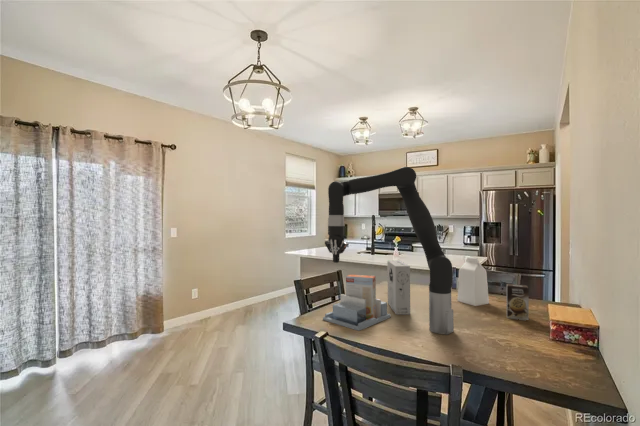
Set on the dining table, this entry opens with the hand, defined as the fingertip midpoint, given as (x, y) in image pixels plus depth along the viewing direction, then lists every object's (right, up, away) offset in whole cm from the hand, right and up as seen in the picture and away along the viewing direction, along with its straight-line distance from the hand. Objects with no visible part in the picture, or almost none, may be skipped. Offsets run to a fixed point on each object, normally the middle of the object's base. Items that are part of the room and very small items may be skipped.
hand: (336, 262), depth 147 cm
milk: (+82, -30, +39) cm, 96 cm away
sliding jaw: (+7, -30, +6) cm, 31 cm away
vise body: (+11, -30, +11) cm, 33 cm away
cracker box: (+13, -30, +12) cm, 35 cm away
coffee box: (+90, -29, +10) cm, 95 cm away
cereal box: (+36, -30, +27) cm, 54 cm away
